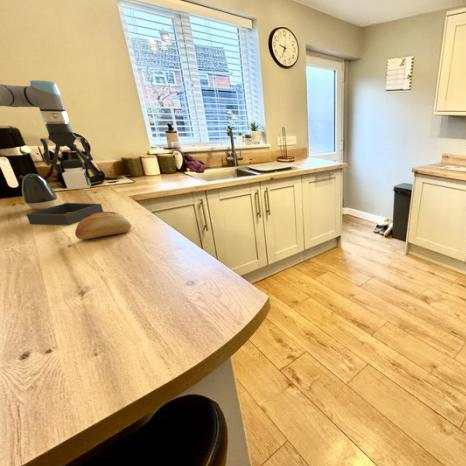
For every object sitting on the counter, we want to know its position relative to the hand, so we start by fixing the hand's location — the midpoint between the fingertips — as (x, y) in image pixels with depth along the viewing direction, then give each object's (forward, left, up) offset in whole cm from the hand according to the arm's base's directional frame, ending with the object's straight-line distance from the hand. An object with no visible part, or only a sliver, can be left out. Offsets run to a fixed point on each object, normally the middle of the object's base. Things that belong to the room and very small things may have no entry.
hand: (76, 178), depth 127 cm
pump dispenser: (-16, -4, -13) cm, 21 cm away
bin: (+8, -16, -13) cm, 22 cm away
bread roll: (+38, -32, -13) cm, 51 cm away
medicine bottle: (0, 0, -4) cm, 4 cm away
